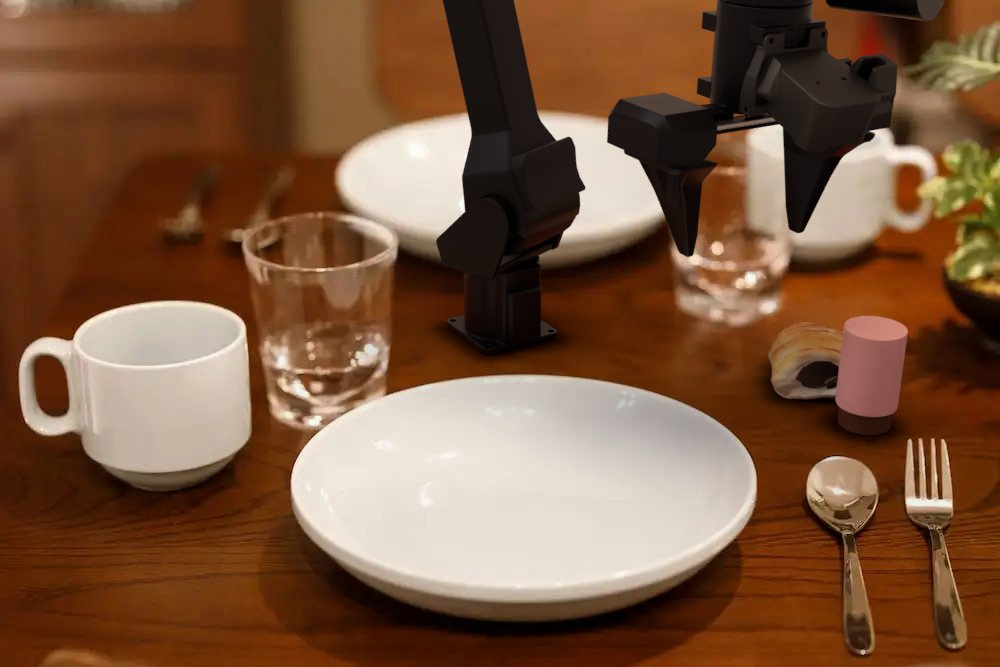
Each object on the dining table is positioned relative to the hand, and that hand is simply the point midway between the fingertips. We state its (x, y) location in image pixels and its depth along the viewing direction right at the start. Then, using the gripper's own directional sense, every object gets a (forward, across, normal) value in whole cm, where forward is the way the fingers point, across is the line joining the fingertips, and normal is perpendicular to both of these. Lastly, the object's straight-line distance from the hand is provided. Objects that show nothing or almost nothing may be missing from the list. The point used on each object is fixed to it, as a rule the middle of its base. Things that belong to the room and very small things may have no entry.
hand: (742, 242), depth 85 cm
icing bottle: (+12, +6, -7) cm, 15 cm away
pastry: (+12, +8, 0) cm, 14 cm away
